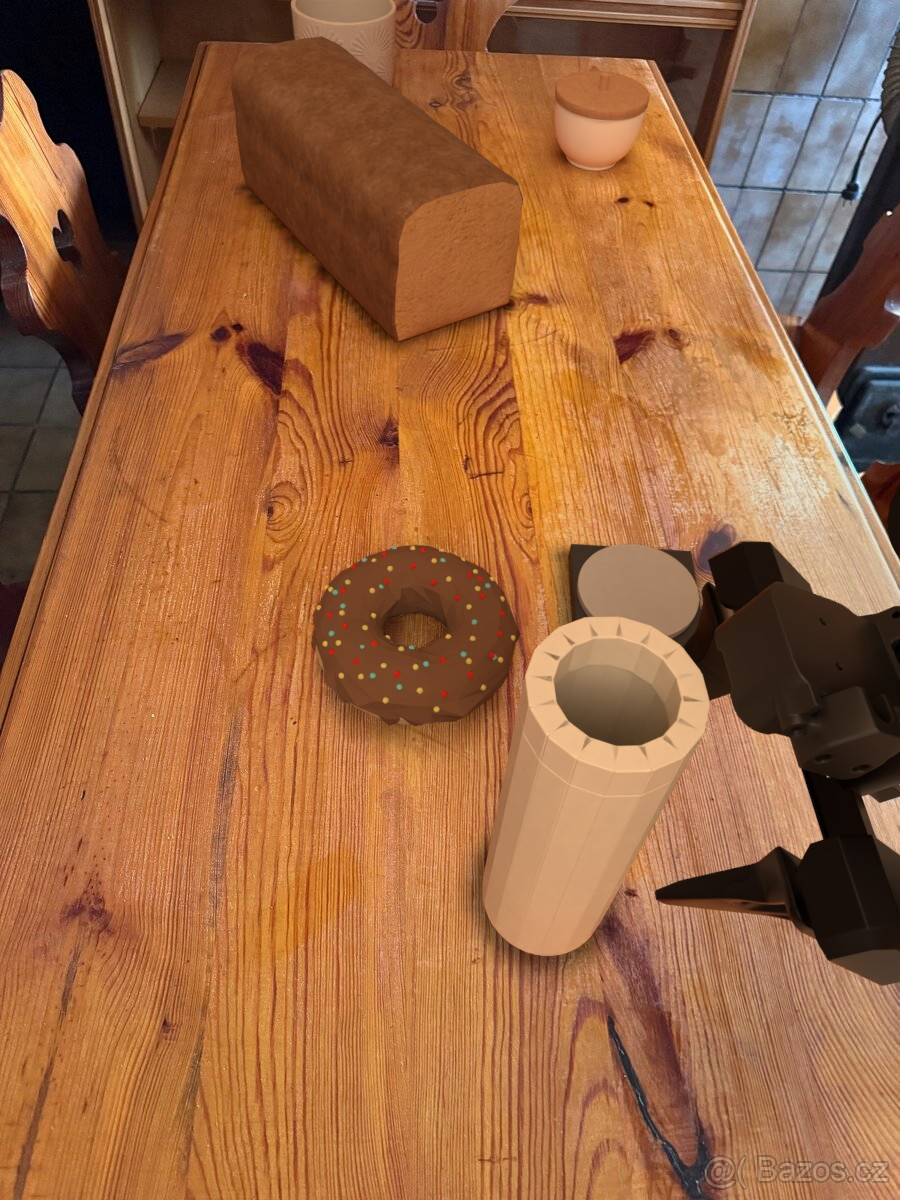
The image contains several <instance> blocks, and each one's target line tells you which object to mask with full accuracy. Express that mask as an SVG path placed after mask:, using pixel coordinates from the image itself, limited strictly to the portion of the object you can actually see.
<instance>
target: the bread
mask: <svg viewBox="0 0 900 1200" xmlns="http://www.w3.org/2000/svg"><path fill="white" fill-rule="evenodd" d="M230 84H231V85H230V89H231V95H232V100H233V105H234V115H235V127H236V128H235V129H236V138H237V145H238V153H239V158H240V166H241V172H242V176H243V179H244V182H245V184H246V186H247V187H248V188H249V189H250V190H251V192H253V194H254V195H255V196H256V197H257V198H258V199H259V200H260V201H261V202H262V203H263V204H264V205H265V207H266V208H268V210H269V211H271V212H272V213H273V215H275V217H276V218H277V219H278V220H279V221H280V222H281V223H282V224H283V225H284V226H285V227H286V228H287V230H289V232H290V233H291V234H292V235H293V236H294V237H295V238H296V240H297V241H299V243H300V244H301V245H302V246H303V247H304V248H305V249H306V250H307V251H308V252H309V253H310V254H312V256H313V257H314V258H315V259H316V260H317V261H318V262H319V264H321V266H322V268H324V269H325V270H326V271H327V272H328V273H329V275H330V276H332V278H334V280H335V281H336V282H337V283H338V284H339V285H340V286H341V287H342V288H343V289H344V290H345V291H346V292H347V293H348V294H349V295H350V296H351V297H352V298H353V299H354V300H355V301H356V302H357V303H358V304H359V305H360V306H361V308H363V309H364V311H365V312H366V313H367V314H368V315H369V316H370V318H372V319H373V321H375V323H376V324H378V326H379V327H381V329H382V330H383V331H384V332H385V333H386V334H388V335H389V336H390V337H391V338H392V339H393V340H394V341H395V342H401V341H403V340H408V339H411V338H414V337H417V336H420V335H423V334H425V333H428V332H431V331H434V330H437V329H440V328H442V327H446V326H449V325H452V324H454V323H457V322H461V321H464V320H467V319H469V318H472V317H475V316H478V315H482V314H484V313H487V312H490V311H492V310H495V309H498V308H500V307H504V306H506V305H508V304H509V303H510V298H511V294H512V291H513V288H514V281H515V273H516V267H517V266H516V265H517V257H518V250H519V243H520V241H519V240H520V230H521V219H522V211H523V204H524V196H523V194H522V191H521V187H520V184H519V181H517V180H516V179H515V178H514V177H513V176H511V175H510V174H508V173H507V172H505V171H504V170H503V169H501V168H500V167H498V166H497V165H495V164H494V163H493V162H492V161H490V160H489V159H487V158H486V157H485V156H484V155H483V154H481V153H480V152H479V151H478V150H476V149H474V148H473V147H472V146H470V145H469V144H468V143H466V142H464V140H462V139H460V138H459V137H458V136H457V135H456V134H455V133H453V132H452V131H451V130H450V129H448V128H446V127H445V126H444V125H442V124H441V123H439V122H437V121H436V120H434V118H432V117H431V116H430V115H429V114H428V113H427V112H426V111H424V110H423V109H422V108H421V107H420V106H418V105H417V104H415V103H414V102H412V101H411V100H410V99H409V98H407V97H405V96H404V95H403V94H401V92H399V91H398V90H396V89H395V88H394V87H393V86H392V87H391V86H390V85H389V84H388V83H386V82H385V81H384V80H383V79H382V78H381V77H379V76H378V75H377V74H376V73H375V72H373V71H372V70H371V69H370V68H368V67H367V66H366V65H364V64H363V63H362V62H360V61H359V60H358V59H356V58H355V57H354V56H353V55H352V54H350V53H349V52H348V51H347V50H346V49H344V48H343V47H342V46H340V45H339V44H337V43H335V42H333V41H331V40H329V39H326V38H324V37H313V38H304V39H298V40H295V39H291V40H285V41H281V42H277V43H272V44H268V45H263V46H259V47H256V48H254V49H250V50H247V51H244V52H243V54H242V55H241V56H240V57H239V58H238V60H237V61H236V63H235V64H234V66H232V75H231V83H230Z"/></svg>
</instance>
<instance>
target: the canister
mask: <svg viewBox="0 0 900 1200" xmlns="http://www.w3.org/2000/svg"><path fill="white" fill-rule="evenodd" d="M518 703H519V704H518V707H517V712H516V717H515V722H514V726H513V731H512V737H511V741H510V745H509V751H508V755H507V760H506V765H505V770H504V775H503V779H502V784H501V789H500V793H499V799H498V802H497V803H498V804H497V808H496V812H495V818H494V823H493V826H492V833H491V836H490V840H489V841H490V842H489V846H488V851H487V856H486V862H485V866H484V870H483V875H482V901H483V906H484V909H485V912H486V916H487V917H488V919H489V921H490V923H491V925H492V926H493V928H494V929H495V931H496V932H497V933H498V934H499V935H500V937H502V938H503V939H504V940H505V941H506V942H507V943H509V944H510V945H511V946H513V947H515V948H516V949H519V950H521V951H523V952H525V953H528V954H531V955H535V956H536V955H537V956H542V957H552V956H553V957H554V956H559V955H564V954H567V953H569V952H573V951H574V950H576V949H578V948H579V947H582V945H584V944H585V943H586V942H587V941H588V940H589V939H590V938H591V937H592V935H593V934H594V933H595V931H596V930H597V928H598V927H599V926H600V925H601V923H602V921H603V919H604V917H605V916H606V913H608V912H607V911H608V910H609V908H610V906H611V905H612V903H613V901H614V899H615V897H616V895H617V894H618V892H619V890H620V888H621V886H622V885H623V883H624V881H625V879H626V877H627V876H628V874H629V871H630V870H631V868H632V866H633V865H634V862H635V861H636V860H637V857H638V855H640V854H639V853H640V851H641V850H642V849H643V846H644V845H645V843H646V841H647V839H648V837H649V835H650V833H652V831H653V830H652V829H653V828H654V826H655V824H656V822H657V821H658V819H659V817H660V815H661V813H662V811H664V808H665V806H666V805H667V802H668V800H669V799H670V797H671V795H672V794H673V791H674V790H675V788H676V787H677V784H678V783H679V781H680V779H681V777H682V775H683V773H684V771H685V770H686V768H687V766H688V764H689V762H690V760H691V759H692V757H693V755H694V753H695V751H696V749H697V747H698V746H699V744H700V742H701V741H702V738H703V737H704V735H705V733H706V728H707V723H708V719H709V713H710V708H711V701H710V700H709V697H708V693H707V689H706V685H705V682H704V678H703V674H702V673H701V671H700V669H699V668H698V667H697V665H696V664H695V663H694V662H693V660H692V659H691V658H690V656H689V655H688V654H687V652H686V651H685V650H684V648H683V647H681V645H680V644H678V643H677V642H675V641H674V640H672V639H671V638H669V637H668V636H666V635H665V634H663V633H662V632H661V631H659V630H658V629H656V628H655V627H653V626H650V625H647V624H644V623H640V622H637V621H634V620H631V619H627V618H624V617H587V618H586V617H584V618H582V619H579V620H576V621H573V622H572V621H571V622H568V623H565V624H562V625H560V626H558V627H557V628H555V629H554V630H553V631H552V632H550V633H549V635H548V636H547V637H545V638H544V640H542V641H541V642H540V643H539V644H538V645H537V646H536V647H535V648H534V650H533V652H532V655H531V657H530V660H529V663H528V666H527V669H526V672H525V674H524V678H523V683H522V688H521V694H520V698H519V702H518Z"/></svg>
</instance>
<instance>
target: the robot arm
mask: <svg viewBox="0 0 900 1200" xmlns="http://www.w3.org/2000/svg"><path fill="white" fill-rule="evenodd" d="M886 523H887V524H886V525H887V531H888V539H889V541H890V544H891V547H892V549H893V551H894V552H895V554H896V555H897V557H898V558H899V559H900V482H899V483H898V485H897V487H896V489H895V491H894V494H893V496H892V498H891V500H890V502H889V507H888V514H887V520H886ZM707 562H708V566H709V569H710V573H711V576H712V579H713V583H712V582H711V581H706V582H705V583H704V584H703V585H702V588H701V590H700V594H701V598H702V603H701V613H700V617H699V621H698V625H697V628H696V630H695V632H694V633H693V635H692V636H691V637H690V638H689V640H688V641H687V642H686V643H685V645H684V646H683V648H684V650H685V651H686V652H687V654H688V655H689V656H690V658H691V659H692V660H693V662H694V663H695V664H696V665H697V667H698V668H699V669H700V671H701V673H702V674H703V678H704V682H705V685H706V689H707V693H708V697H709V700H710V702H711V701H714V700H717V699H719V698H722V697H724V696H728V695H729V697H730V701H731V705H732V708H733V710H734V712H735V714H736V716H737V717H738V719H740V721H741V722H742V723H743V724H744V725H745V726H746V727H748V728H749V729H750V730H752V731H754V732H756V733H760V734H762V735H767V736H768V735H769V736H770V735H778V736H783V737H786V738H789V740H790V744H791V747H792V750H793V753H794V756H795V760H796V763H797V766H798V768H799V769H801V774H802V776H803V780H804V783H805V786H806V789H807V792H808V795H809V798H810V802H811V806H812V808H813V811H814V814H815V818H816V821H817V824H818V828H819V831H820V834H821V837H822V839H819V840H817V841H813V842H810V843H809V845H808V847H807V849H806V850H805V853H804V854H803V856H802V858H800V857H799V856H797V855H796V854H794V853H792V852H791V851H789V850H787V849H785V848H784V847H782V846H781V845H778V846H775V847H774V848H773V849H772V850H770V851H769V852H768V853H767V854H766V855H765V856H764V857H762V858H761V859H760V860H758V861H757V862H753V863H749V864H746V865H741V866H736V867H732V868H728V869H723V870H719V871H714V872H711V873H710V872H709V873H706V874H701V875H697V876H692V877H689V878H684V879H680V880H677V881H674V882H672V883H670V884H669V883H668V884H667V885H665V886H662V887H660V888H657V889H656V890H654V898H655V901H657V902H659V903H662V904H664V905H668V906H674V907H684V908H692V909H701V910H702V909H703V910H710V911H720V912H729V913H739V914H747V915H748V914H749V915H756V916H757V915H758V916H764V917H770V918H775V919H781V920H784V921H789V922H791V923H792V925H793V927H795V928H796V930H797V931H799V932H800V933H802V934H803V935H806V936H807V937H811V938H812V939H814V940H815V941H816V943H817V944H818V946H819V948H820V950H821V951H822V953H823V955H824V957H825V958H826V960H827V961H828V962H830V963H832V964H834V965H836V966H838V967H841V968H843V969H845V970H847V971H850V972H851V973H854V974H856V975H857V976H860V977H861V978H864V979H867V980H869V981H871V982H873V983H874V984H877V985H879V986H881V987H883V986H884V987H885V986H888V985H893V984H898V983H900V853H898V852H897V851H895V850H894V849H892V848H891V847H890V846H888V845H887V844H885V843H884V842H883V841H881V840H880V839H879V838H877V836H876V833H875V830H874V827H873V824H872V822H871V819H870V815H869V813H868V811H867V807H866V805H865V801H864V799H863V797H865V796H868V795H869V797H872V798H873V799H874V800H875V801H876V802H878V803H879V804H881V803H884V802H887V801H891V800H894V799H897V798H900V605H893V606H891V607H889V608H886V609H884V610H882V611H880V612H875V613H870V614H864V615H858V614H855V613H854V612H853V611H852V610H850V608H849V607H847V606H845V605H844V604H842V603H841V602H838V601H836V600H833V599H830V598H827V597H825V596H821V595H819V594H817V593H814V591H813V589H812V585H811V584H810V583H809V582H808V580H807V579H806V578H805V577H804V576H803V575H802V574H801V573H800V571H798V570H797V569H796V568H795V566H793V564H792V563H790V561H789V560H788V559H787V558H786V557H785V556H784V555H783V554H782V553H781V552H780V550H778V548H776V547H775V545H773V543H772V542H771V541H762V540H740V541H738V542H736V543H734V544H733V545H730V546H728V547H726V548H724V549H723V550H720V551H718V552H717V553H715V554H713V555H711V556H710V557H709V558H708V559H707Z"/></svg>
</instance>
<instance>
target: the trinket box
mask: <svg viewBox="0 0 900 1200" xmlns="http://www.w3.org/2000/svg"><path fill="white" fill-rule="evenodd" d="M650 98H651V96H650V93H649V91H648V88H646V86H645V85H644V84H643V83H641V82H639V81H637V80H636V79H634V78H632V77H629V76H627V75H623V74H620V73H617V72H611V71H605V70H584V71H583V70H582V71H577V72H571V73H569V74H566V75H564V76H563V77H562V78H560V79H559V80H558V82H557V83H556V85H555V90H554V106H553V129H554V130H553V131H554V135H555V139H556V142H557V144H558V147H559V148H560V150H561V151H562V153H563V154H564V155H565V158H566V160H567V161H568V163H569V164H571V165H572V166H574V167H576V168H579V169H582V170H587V171H592V172H593V171H594V172H595V171H596V172H597V171H599V172H600V171H606V170H609V169H612V168H613V167H614V166H615V165H616V164H617V163H618V162H619V161H621V160H622V159H623V158H625V157H626V156H627V154H628V153H630V151H632V149H633V147H634V145H635V144H636V142H637V140H638V137H639V136H640V133H641V131H642V127H643V124H644V120H645V116H646V111H647V109H648V107H649V101H650Z"/></svg>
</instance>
